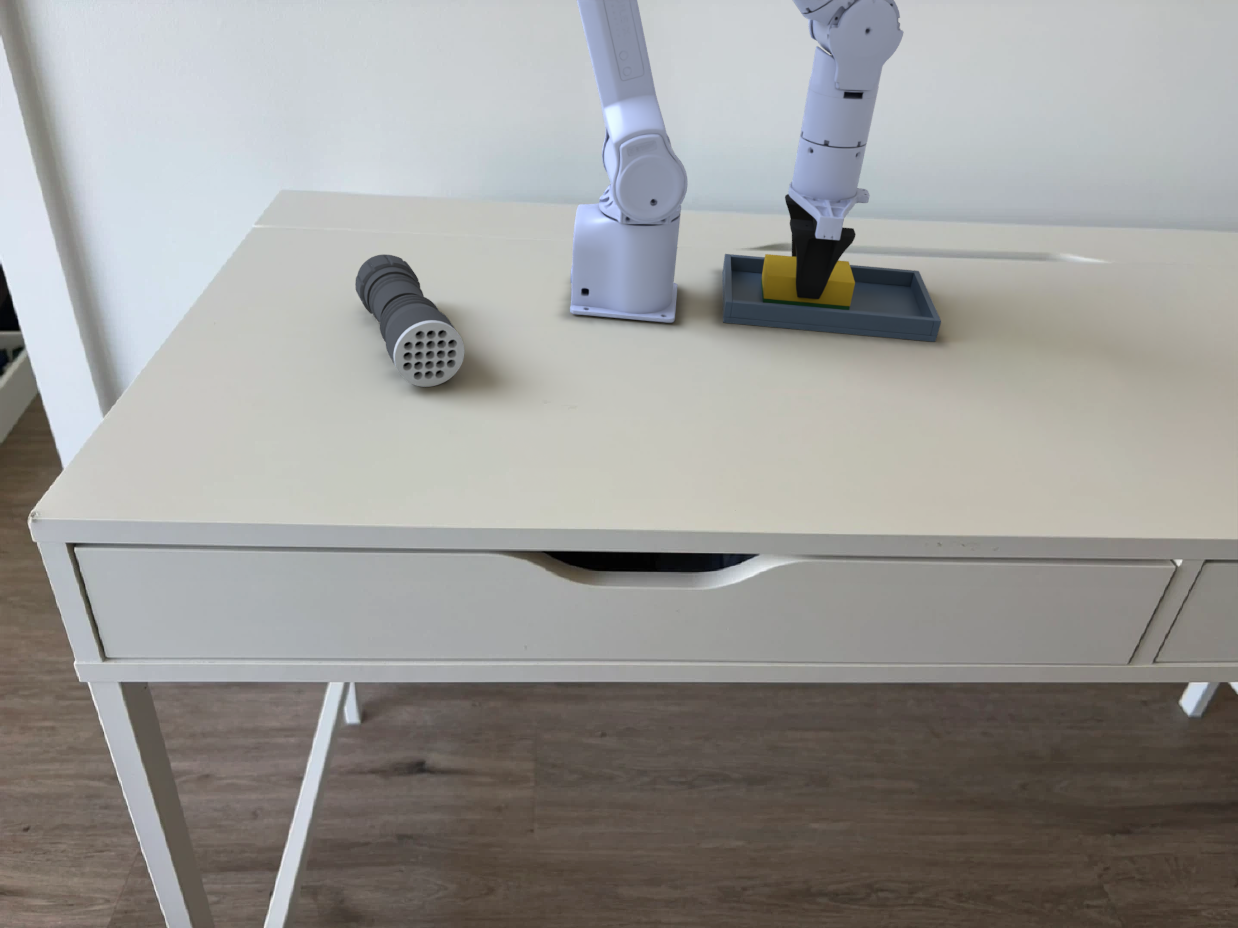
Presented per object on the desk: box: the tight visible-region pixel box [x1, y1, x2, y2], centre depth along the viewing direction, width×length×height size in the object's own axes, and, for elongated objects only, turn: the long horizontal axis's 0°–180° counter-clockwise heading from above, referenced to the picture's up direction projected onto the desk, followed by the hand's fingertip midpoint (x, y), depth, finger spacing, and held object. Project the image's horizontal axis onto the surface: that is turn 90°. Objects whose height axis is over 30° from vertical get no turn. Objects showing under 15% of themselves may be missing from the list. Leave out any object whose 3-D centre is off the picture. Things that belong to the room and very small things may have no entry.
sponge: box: [761, 253, 855, 310], centre depth 88 cm, size 8×5×3 cm, turn 85°
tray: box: [721, 253, 942, 343], centre depth 88 cm, size 19×11×2 cm, turn 85°
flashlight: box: [355, 253, 465, 388], centre depth 76 cm, size 15×5×5 cm, turn 25°
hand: (805, 284), depth 88 cm, fingers closed on sponge, 5 cm apart
